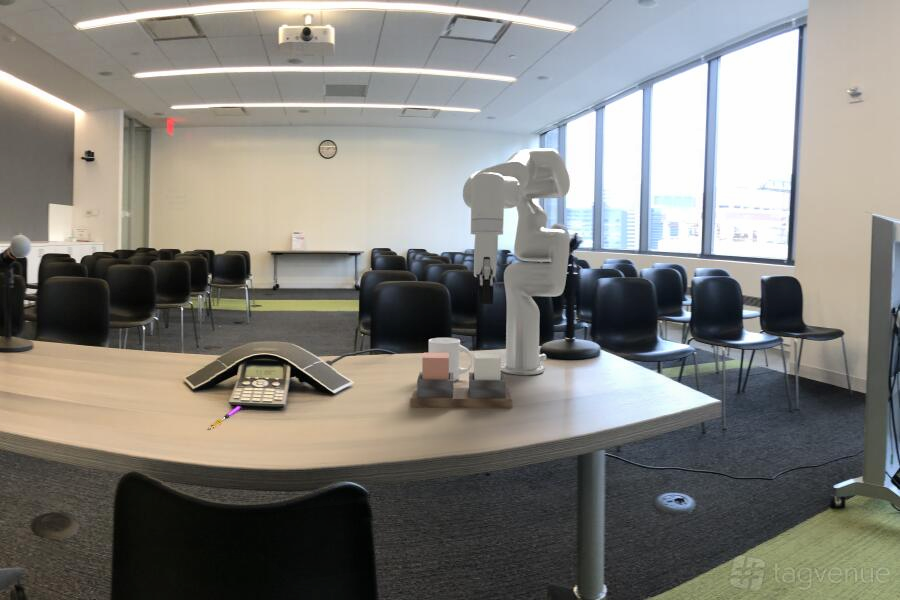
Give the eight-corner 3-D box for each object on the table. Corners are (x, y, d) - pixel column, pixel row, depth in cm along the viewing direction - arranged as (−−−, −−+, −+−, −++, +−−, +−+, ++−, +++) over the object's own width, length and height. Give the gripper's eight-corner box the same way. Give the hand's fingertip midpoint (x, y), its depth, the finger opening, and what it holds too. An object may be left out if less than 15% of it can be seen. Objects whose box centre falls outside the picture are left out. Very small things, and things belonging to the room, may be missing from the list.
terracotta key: (448, 377, 137) (448, 352, 136) (448, 383, 131) (448, 358, 130) (423, 377, 137) (423, 352, 136) (422, 383, 131) (422, 357, 131)
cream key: (498, 377, 137) (499, 353, 136) (500, 384, 131) (500, 358, 130) (473, 377, 137) (474, 353, 136) (474, 383, 131) (474, 358, 130)
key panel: (508, 395, 139) (508, 371, 139) (511, 407, 129) (512, 382, 129) (414, 395, 140) (414, 371, 139) (410, 406, 130) (410, 381, 129)
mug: (470, 383, 151) (470, 343, 150) (425, 381, 153) (425, 342, 152) (473, 376, 160) (474, 338, 159) (431, 374, 161) (431, 337, 160)
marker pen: (240, 406, 130) (206, 430, 114) (241, 401, 130) (207, 425, 114) (251, 409, 130) (219, 434, 114) (252, 404, 130) (220, 428, 114)
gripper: (470, 229, 140) (469, 298, 141) (470, 225, 123) (468, 305, 124) (501, 229, 140) (500, 299, 141) (505, 226, 122) (503, 305, 124)
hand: (485, 302), depth 132 cm, fingers open, 9 cm apart
